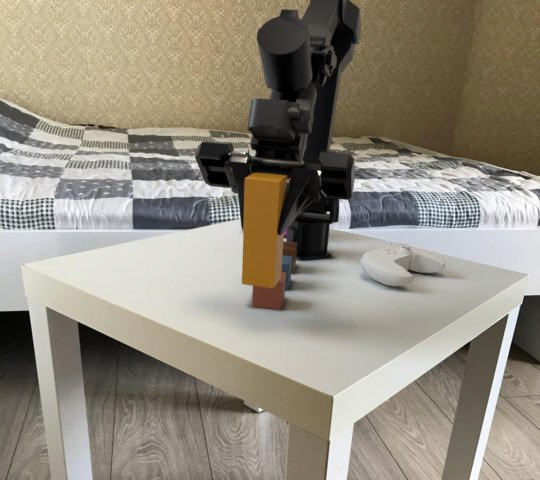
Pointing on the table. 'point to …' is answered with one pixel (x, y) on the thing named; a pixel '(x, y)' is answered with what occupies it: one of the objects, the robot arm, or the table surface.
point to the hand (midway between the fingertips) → (261, 231)
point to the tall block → (263, 229)
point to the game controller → (399, 263)
